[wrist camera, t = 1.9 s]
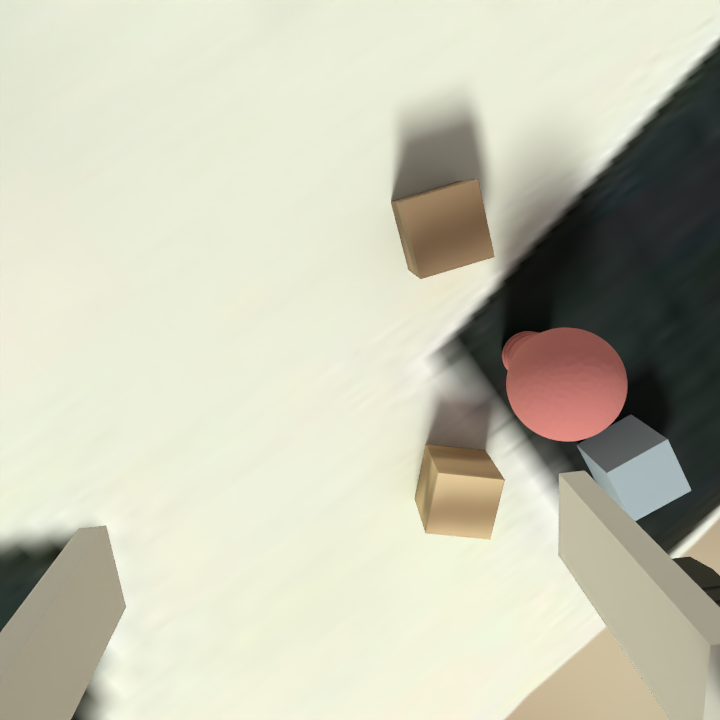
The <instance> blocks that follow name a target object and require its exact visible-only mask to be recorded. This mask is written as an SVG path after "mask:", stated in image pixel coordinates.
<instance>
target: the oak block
mask: <svg viewBox="0 0 720 720" xmlns="http://www.w3.org/2000/svg"><path fill="white" fill-rule="evenodd" d="M504 481H505V479H504V478H503V476H502V475H501V473H500V472H499V470H498V469H497V467H496V466H495V464H494V463H493V461H492V460H491V458H490V457H489V455H488V454H487V452H486V451H484V450H475V449H466V448H457V447H449V446H440V445H431V444H426V445H425V450H424V455H423V460H422V465H421V470H420V475H419V480H418V485H417V490H416V495H415V501H416V505H417V508H418V511H419V514H420V517H421V520H422V523H423V527H424V530H425V533H429V534H439V535H450V536H460V537H471V538H481V539H490V538H491V534H492V530H493V526H494V522H495V518H496V514H497V510H498V506H499V502H500V498H501V493H502V489H503V485H504Z"/></svg>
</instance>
